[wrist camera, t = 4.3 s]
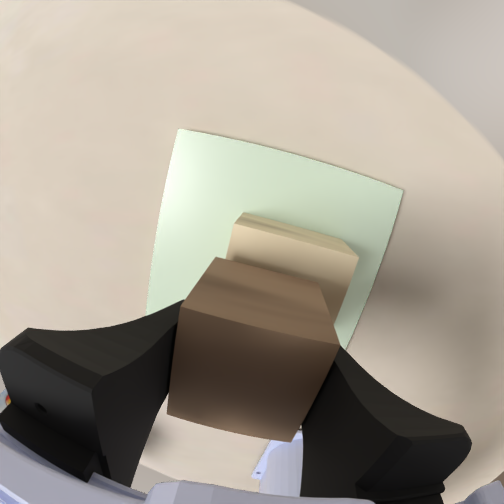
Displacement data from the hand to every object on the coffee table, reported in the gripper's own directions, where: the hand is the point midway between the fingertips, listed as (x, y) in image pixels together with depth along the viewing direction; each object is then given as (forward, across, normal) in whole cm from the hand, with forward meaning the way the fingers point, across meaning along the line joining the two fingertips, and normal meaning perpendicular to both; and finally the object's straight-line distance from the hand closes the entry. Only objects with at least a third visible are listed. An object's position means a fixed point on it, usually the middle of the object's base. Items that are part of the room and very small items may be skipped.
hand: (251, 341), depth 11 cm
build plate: (+8, 0, 0) cm, 8 cm away
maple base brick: (+7, -1, 0) cm, 7 cm away
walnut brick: (+2, 0, 0) cm, 2 cm away
